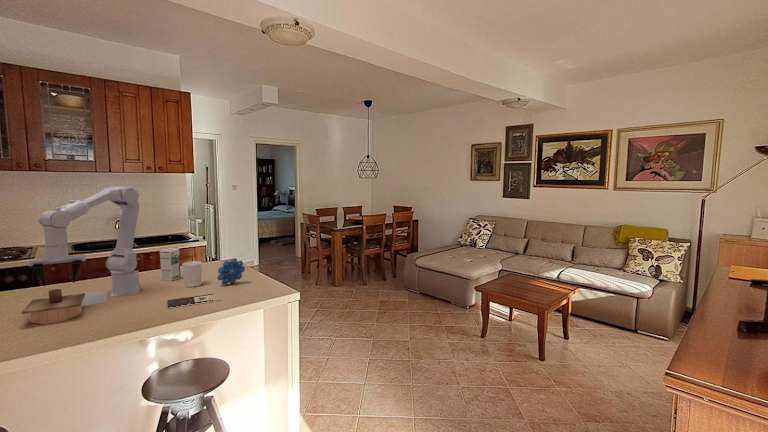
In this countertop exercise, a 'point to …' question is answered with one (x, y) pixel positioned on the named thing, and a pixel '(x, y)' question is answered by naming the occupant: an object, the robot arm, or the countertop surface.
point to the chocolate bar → (188, 300)
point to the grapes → (231, 271)
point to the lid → (54, 302)
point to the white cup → (192, 273)
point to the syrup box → (170, 264)
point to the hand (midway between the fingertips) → (59, 283)
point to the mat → (94, 298)
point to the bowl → (55, 315)
